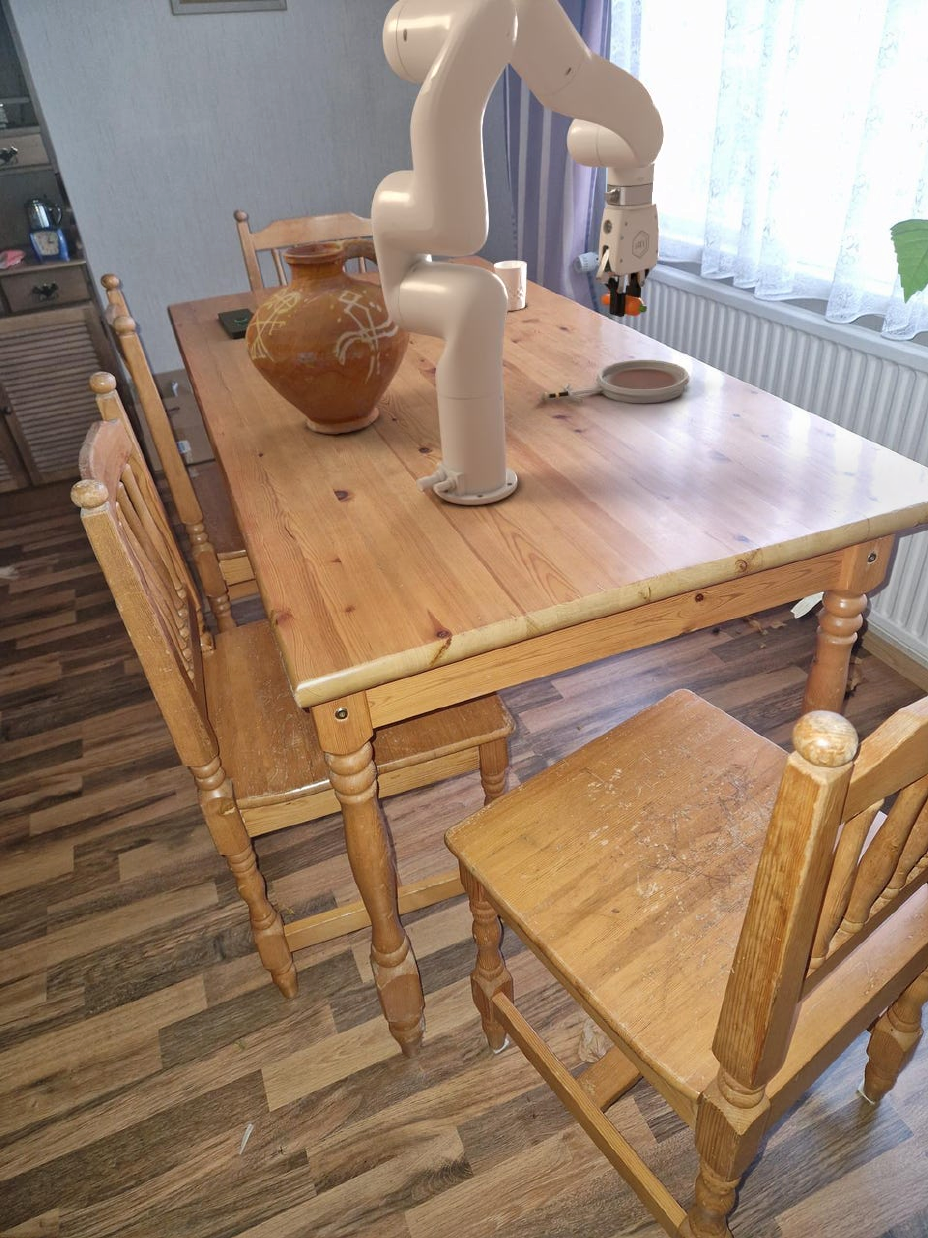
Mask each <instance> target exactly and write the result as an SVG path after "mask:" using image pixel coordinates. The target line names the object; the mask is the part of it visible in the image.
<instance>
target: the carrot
mask: <svg viewBox="0 0 928 1238" xmlns="http://www.w3.org/2000/svg"><path fill="white" fill-rule="evenodd" d="M601 303H602V304H603V305H604V306H607V307H610V293H609V294H608V293H606V294H603V296H602V297H601ZM647 310H648V306H647V305H645V304H644V301H643V299H642V298H641V299H640V298H637V297H633V296H629V295H626V303H625V315H627V316H631V317H637V316H639V315H641V314H642V313H643V314H644V313H646V312H647Z"/></svg>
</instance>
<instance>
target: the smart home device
mask: <svg viewBox="0 0 928 1238" xmlns="http://www.w3.org/2000/svg"><path fill="white" fill-rule="evenodd" d="M217 316H218V321H219V323H220V324H221V325H222V326H223V328H224V329H225V331H226V333H227V334H229V336H230V337H231V339H233V340H236V339H242V338H245V337H246V330H247V327H248V324H249V322H250V320H251V319H252V317H253V316H254V313H253V312H252V311H251V310H250V309H249V308H247V307H246V308H241V309H234V310H229V311H223V312H219V313H217Z"/></svg>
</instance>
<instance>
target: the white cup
mask: <svg viewBox="0 0 928 1238" xmlns="http://www.w3.org/2000/svg"><path fill="white" fill-rule="evenodd" d="M493 273H494V274H495V275H497V276H498V277H499V278H500V279H501V281H502V282H503V284H504V286H505V288H506V291H507V296H508V311H507V312H512V311H519V310H522V309H524V308H525V306H526V304H525V303H526V293H527V292H526V291H527V262H526V261H522V260H504V261H503V260H502V261H499V262H496V263H494V264H493Z"/></svg>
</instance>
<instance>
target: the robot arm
mask: <svg viewBox="0 0 928 1238" xmlns="http://www.w3.org/2000/svg"><path fill="white" fill-rule="evenodd" d="M382 48H383V52H384V56H385V58H386V60H387V63H388V65H389V66H390V68H391V70H393V72H394V73H395V74H396V76H398V77H399V78H401V79H403V81H404V80H405V81H407V82H409V83H414V84H422V86H421V88H420V90H419V92H418V94H417V97H416V99H415V102H414V105H413V108H412V111H411V117H410V125H409V132H410V133H409V136H410V137H409V138H410V146H411V147H410V148H411V158H412V169H413V170H411V169H409V170H408V169H407V170H406V169H405V170H404V169H403V170H398V171H397V170H396V171H394V172H391V173H389V174H388V175H386V177H384V178H383V179H382V180H381V181H380V182H379V184H378V186H377V188H376V189H375V192H374V195H373V199H372V202H371V209H370V225H371V227H370V228H371V233H372V241H373V243H374V246H375V252H376V257H377V263H378V266H377V269H378V274H379V278H380V284H381V285H382V291H383V296H384V300H385V304H386V308H387V311H388V313H389V315H390V317H391V319H392V320H393V322H394V323H395V324H396V325H397V326H398V327H400V328H401V329H403V330H405V331H408V332H410V333H413V334H416V335H422V336H428V337H432V338H437V339H440V340H444V343H445V345H444V348H443V351H442V353H441V355H440V357H439V359H438V361H437V364H436V367H435V375H434V377H435V378H434V382H435V391H436V400H437V401H436V402H437V413H438V424H439V435H440V437H439V438H440V447H441V458H442V461H438V462H436V470H434V471H433V472H432V474H430V475H426V476H423V477H421V478H418V479H416V480H415V486H416V489H417V490H418V492H420V493H423V492H426V491H429V490H431V489H433V492H434V493H435V494H437V496H438V497H439V498H441V499H443V500H445V501H447V502H450V503H452V504H457V505H464V506H477V505H478V506H479V505H486V504H492V503H495V502H498V501H502V500H503V499H505V498H507V497H509V496H510V495H511V494H513V493H514V492H515V491H516V489H517V487H518V476H517V473H516V472H515V471H514V470H513V469H511V468H510V467H509V466H507V443H506V442H507V441H506V420H505V419H506V417H505V416H506V415H505V393H504V391H505V390H504V372H503V371H504V357H503V356H504V339H505V330H506V324H507V318H508V312H509V311H508V296H507V291H506V288H505V286H504V284H503V282H502V281H501V279H500V278H499V277H498V276H497V275H495V274H494V272H492V271H490V270H489V269H487V268H483V267H481V266H476V265H473V264H472V265H471V264H465V263H454V262H442V261H434V260H432V256H437V257H438V256H439V257H451V258H453V257H455V258H463V257H464V258H465V257H468V256H473V255H475V254H476V253H478V252H480V250H482V249H483V247H484V245H485V244H486V241H487V239H488V235H489V226H490V225H489V223H490V222H489V221H490V220H489V219H490V218H489V203H488V193H487V182H486V181H487V180H486V171H485V170H486V169H485V158H484V145H483V144H484V143H483V123H484V116H485V113H486V112H485V111H486V108H487V106H488V103H489V99H490V97H491V95H492V92H493V90H494V88H495V87H496V84H497V83H498V81H499V79H500V77H501V75H502V74H503V72H504V71H505V70H506V67H507V66H508V64H509V65H510V66H511V67H512V69H513V70H514V71H515V72H516V74H518V76H519V77H520V79H522V81H523V82H524V83H525V85H526V86H527V87H528V89H529V90H530V92H531V93H532V94H533V96H534V97H535V98H536V99H537V101H538V102H539V103H540V104H541V105H542V106H543V107H544V108H546V109H547V110H550V111H552V112H554V113H557V114H559V115H562V116H565V117H567V118H572V119H573V120H572V122H571V124H570V125H569V128H568V131H567V136H566V145H567V146H566V147H567V151H568V153H569V155H570V157H571V159H572V160H573V161H574V162H576V163H577V164H579V165H581V166H583V167H588V168H606V169H607V171H606V172H607V175H606V192H605V193H604V195H603V200H604V202H606V204H605V205H606V206H605V207H604V209H603V214H602V218H601V224H600V233H599V240H598V241H599V243H598V270H597V272H596V275H595V280H596V281H598V282H600V283H601V284H604V286H605V287H606V290H607V291H608V292H609V295H610V306H608V307H609V310H608V311H609V312H608V313H609V314H610V315H611V316H615V317H617V318H618V317H619V318H623V317H625V316H626V314H625V303H626V295H629V296H633V297H637V298H640V299H641V300H642V288H644V286H645V284H646V279H647V277H648V275H650V272H651V271H652V270H653V269H654V268H655V267H656V266H657V264H658V262H659V254H660V253H659V252H660V218H659V216H660V215H659V209H658V202H657V201H655V188H656V173H657V172H656V170H657V160H658V159H659V157H660V155H661V154H662V152H663V149H664V145H665V138H666V131H665V130H666V129H665V123H664V118H663V115H662V113H661V111H660V109H659V107H658V104H657V103H656V101H655V99H654V97H653V95H652V93H651V92H650V91H649V89H648V88H647V86H646V85H644V83H643V82H642V81H640V80H639V79H638V78H637V77H635V76H634V75H633V74H631V73H630V72H628V71H626V70H625V69H623V68H621V67H620V66H617V65H616V64H615V63H613V62H611V61H610V60H609V59H607V58H605V57H603V56H602V55H599V54H597V53H596V52H594V51H592V50H591V49H590V48H589V47H588V46H587V44H586V43H585V41H584V39H583V38H582V35H580V33H579V31H578V30H577V29H576V27H575V25H574V24H573V23H572V21H571V19H570V17H569V16H568V14H567V12H566V11H565V10H564V8H563V6H562V5H561V4H560V2H559V1H558V0H398V1H396V2H395V3H394V4H393V5H392V7H391V8H390V9H389V11H388V13H387V15H386V18H385V20H384V23H383V28H382ZM626 275H627V278H628V279H627V281H628V284H626V285H625V279H626ZM616 277H617V278H616ZM624 288H625V291H624Z"/></svg>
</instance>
